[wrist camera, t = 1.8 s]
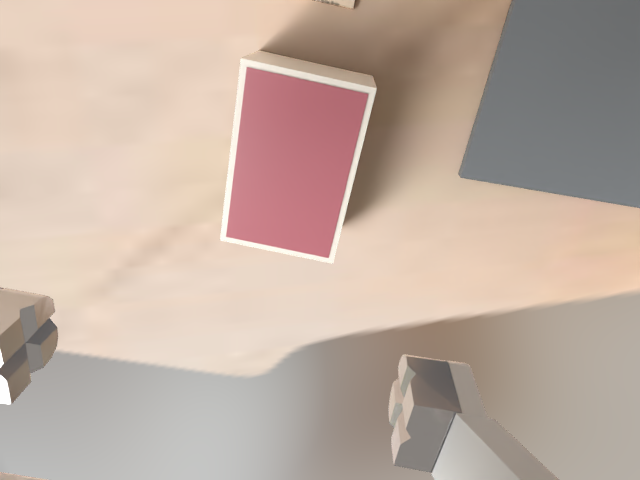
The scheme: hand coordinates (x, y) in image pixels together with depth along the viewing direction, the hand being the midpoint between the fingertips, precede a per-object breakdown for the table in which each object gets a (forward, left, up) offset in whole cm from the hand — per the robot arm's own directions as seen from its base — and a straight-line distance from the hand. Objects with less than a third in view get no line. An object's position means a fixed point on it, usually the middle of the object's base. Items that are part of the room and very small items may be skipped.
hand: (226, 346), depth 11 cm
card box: (0, 0, -17) cm, 17 cm away
